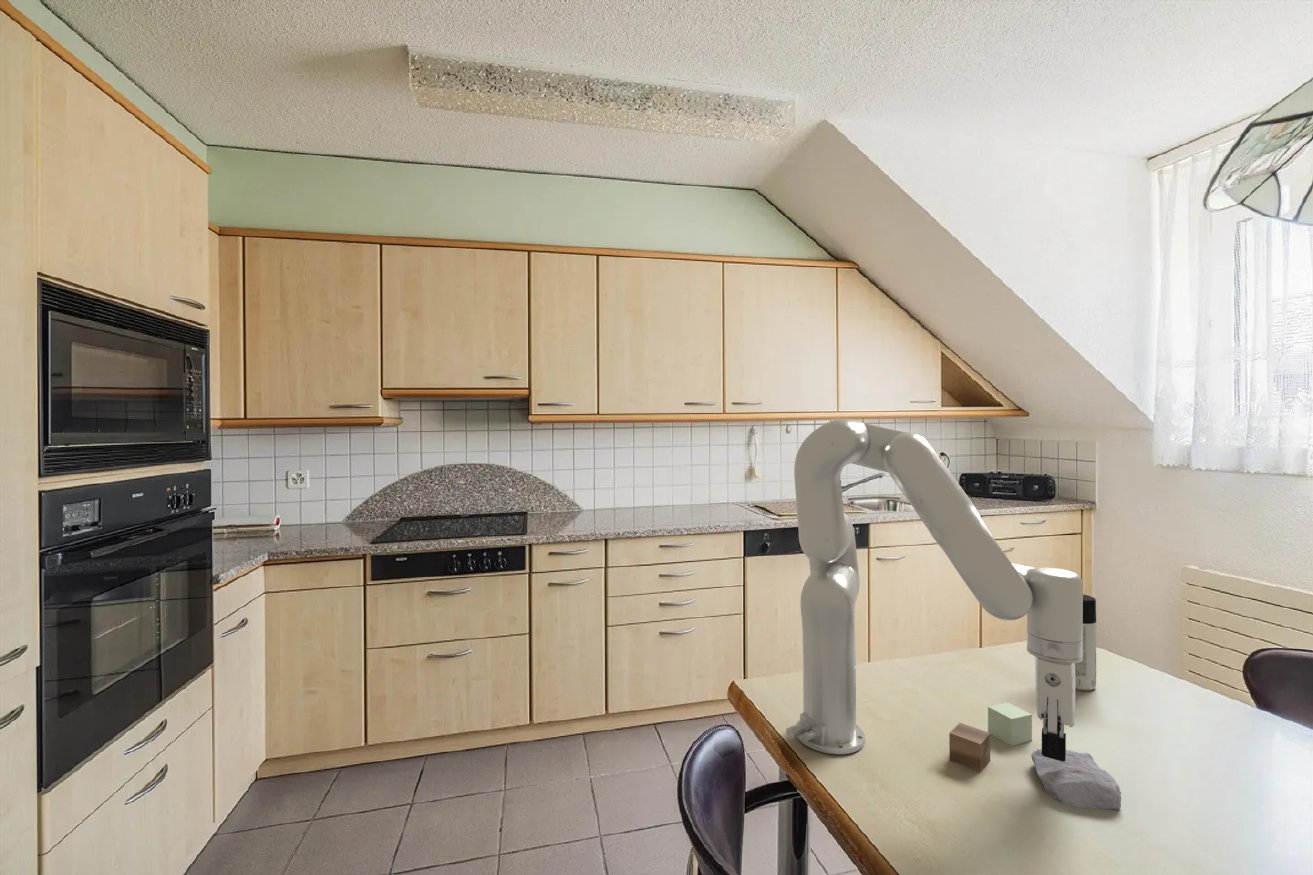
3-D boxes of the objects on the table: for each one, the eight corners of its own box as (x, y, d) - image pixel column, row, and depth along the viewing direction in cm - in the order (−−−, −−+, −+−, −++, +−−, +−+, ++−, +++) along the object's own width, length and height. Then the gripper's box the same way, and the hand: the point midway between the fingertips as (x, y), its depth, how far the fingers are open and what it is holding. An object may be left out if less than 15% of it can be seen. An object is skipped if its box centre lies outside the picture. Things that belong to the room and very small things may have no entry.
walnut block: (980, 773, 98) (980, 743, 98) (949, 760, 101) (949, 732, 101) (990, 761, 101) (990, 732, 101) (959, 749, 105) (959, 722, 105)
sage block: (1011, 746, 106) (1011, 718, 106) (987, 732, 111) (988, 706, 111) (1031, 741, 107) (1031, 714, 107) (1007, 727, 112) (1007, 702, 112)
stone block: (1058, 817, 89) (1130, 812, 87) (1050, 786, 90) (1123, 780, 88) (1025, 775, 101) (1089, 769, 99) (1019, 747, 101) (1082, 741, 99)
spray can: (1104, 691, 127) (1104, 600, 126) (1072, 691, 127) (1073, 600, 126) (1082, 678, 133) (1082, 591, 133) (1052, 678, 133) (1052, 592, 133)
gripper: (1082, 666, 86) (1081, 788, 87) (1082, 636, 98) (1082, 743, 99) (1023, 655, 91) (1022, 770, 91) (1030, 627, 103) (1029, 730, 103)
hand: (1053, 756), depth 95 cm, fingers closed
